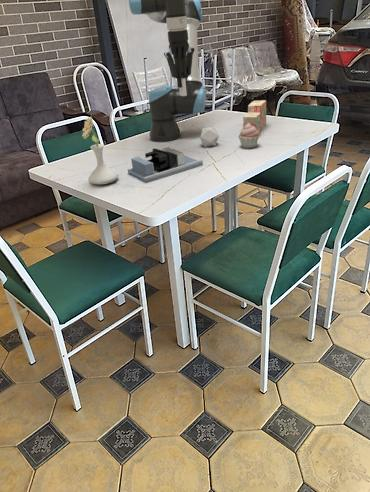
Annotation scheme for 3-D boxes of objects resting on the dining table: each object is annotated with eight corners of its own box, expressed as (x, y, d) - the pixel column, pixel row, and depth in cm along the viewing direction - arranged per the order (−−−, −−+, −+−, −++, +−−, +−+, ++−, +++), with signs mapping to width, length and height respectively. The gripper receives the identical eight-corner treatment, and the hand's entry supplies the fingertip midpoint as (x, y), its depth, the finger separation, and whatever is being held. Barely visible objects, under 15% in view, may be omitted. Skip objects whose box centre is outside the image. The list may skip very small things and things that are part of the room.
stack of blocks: (256, 137, 195) (256, 110, 189) (243, 137, 198) (242, 110, 192) (266, 125, 212) (266, 99, 206) (254, 125, 215) (253, 99, 208)
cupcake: (261, 148, 180) (261, 124, 175) (239, 150, 180) (239, 126, 175) (258, 142, 188) (258, 119, 183) (237, 144, 188) (236, 121, 184)
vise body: (128, 174, 167) (125, 158, 164) (183, 157, 179) (181, 143, 176) (146, 183, 157) (143, 166, 154) (202, 165, 168) (201, 149, 165)
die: (213, 150, 186) (223, 130, 184) (195, 141, 185) (205, 121, 184) (212, 151, 194) (222, 132, 192) (195, 143, 193) (205, 123, 192)
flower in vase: (91, 178, 167) (77, 112, 155) (120, 174, 167) (108, 109, 155) (86, 190, 155) (71, 121, 143) (117, 187, 156) (105, 117, 143)
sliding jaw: (163, 161, 172) (161, 149, 170) (174, 157, 175) (173, 145, 172) (178, 167, 164) (177, 154, 162) (190, 163, 167) (188, 151, 164)
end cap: (176, 167, 165) (174, 150, 161) (162, 173, 161) (160, 155, 157) (160, 163, 171) (158, 146, 168) (146, 168, 168) (144, 151, 164)
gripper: (168, 32, 153) (175, 99, 165) (197, 27, 159) (201, 93, 171) (157, 31, 158) (164, 97, 170) (185, 27, 164) (190, 91, 176)
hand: (183, 95), depth 171 cm, fingers closed
